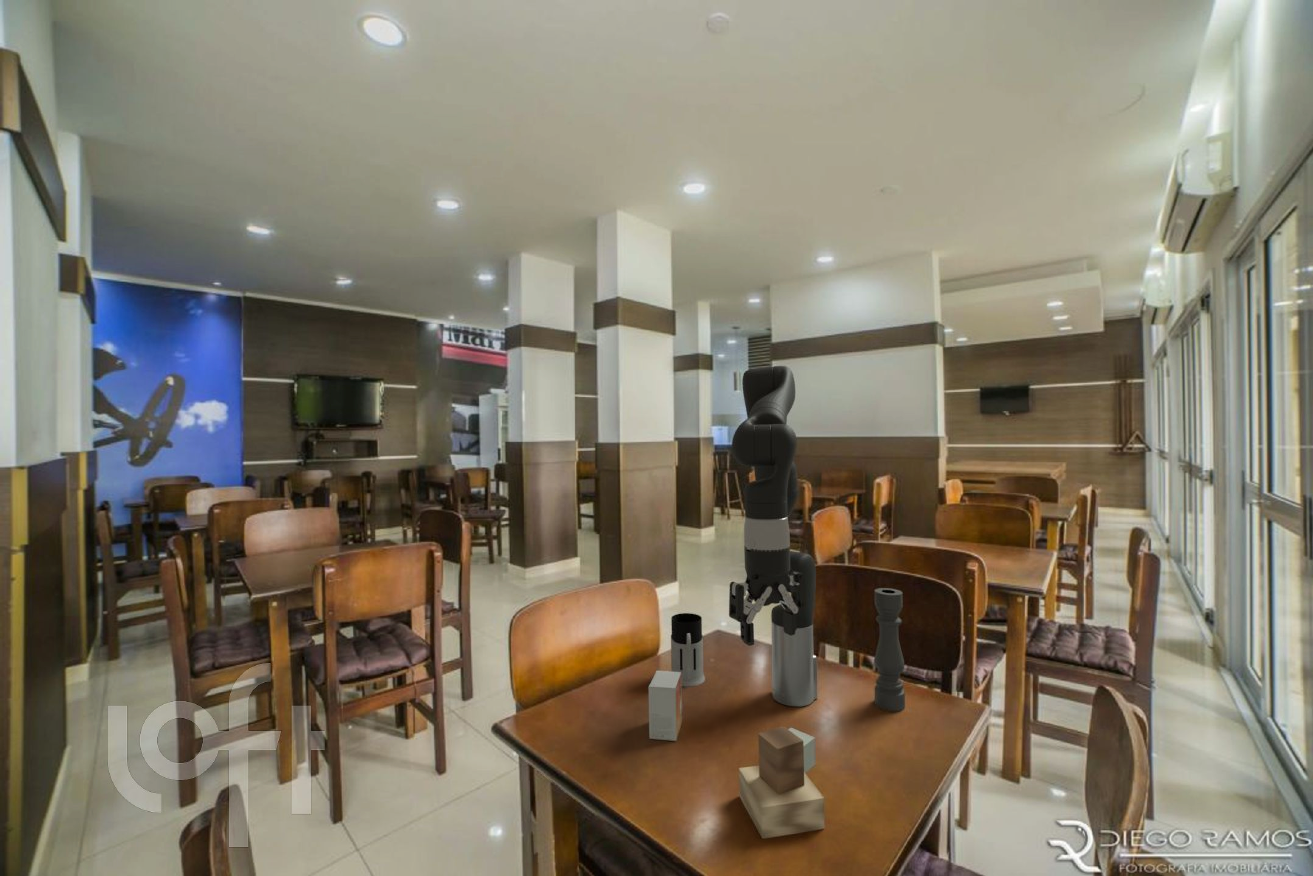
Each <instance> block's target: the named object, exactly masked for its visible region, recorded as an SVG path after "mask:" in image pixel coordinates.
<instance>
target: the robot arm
mask: <svg viewBox="0 0 1313 876" xmlns="http://www.w3.org/2000/svg"><path fill="white" fill-rule="evenodd" d="M741 381H742V394H743V400H744V406H745V412H746V417H747V418H746V419H745V420H743V422H741V423H740V424H739V425H738V427H737V428H736V430H735V432H734V434H733V436H732V442H731V452H732V455H733V458H734V460H735V461H737V463H738V464H740V465H741V466H745V467H751V468H752V467H753V469H754V470H753V471H754V480H753V481H750V482H748V483H746V485H745V487H744V497H743V498H744V526H743V544H744V547H743V548H744V551H743V552H744V553H743V554H744V571H745V573H746V578H745V582H735V581H731V582H730V583H729V601H728V604H729V605H728V616H729V618H731V619H733V620H734V621H736V622H738V623H739V624H740V626H739V628H740V640H741V641H742V642H743V643H744V644H745V645H746V646H749V647H750V646H754V645H755V634H754V633H755V630H754V629H755V628H754V625H755V624H754V623H753V621H754V620H755V617H756V615H757V614H758V613H760V612H761V610H762V608H763V607H767V606H770V605H771V604H774V605H775V604H776V605H775V606H773V607H772V609H771V614H770V616H771V617H770V618H771V619H770V620H771V621H770V622H771V685H772V686H771V694H772V698H773V699H774V700H775V701H776V702H778V703H779V704H780V705H781V704H782V705H786V706H789V707H805V706H809V705H810V704H812V703H813V702H814V701H815V700H817V699H818V658H817V655H816V654H814V614H815V609H816V608H815V607H816V606H815V605H816V584H817V583H816V581H817V569H816V562H815V560H814V558H813V557H812V555H811V554H808V553H806V552H800V551H792V550H791V549H790V548H791V541H790V540H791V537H790V525H789V518H790V516H791V514H792V513H793V510H794V509H795V507H796V504H797V501H798V499H799V493H800V492H799V482H798V474H797V473H798V472H797V467H796V464H795V462H794V460H795V459H794V458H795V455H796V452H797V447H798V440H797V434H796V432H795V431H794V429H793V428H792V427H791V426H790V425H788V424H787V421H788V420H787V419H788V415H789V413H790V412H791V410H792V408H793V406H794V403H795V400H796V384H795V378H794V374H793V371H792V369H791V368H790V367H788V366H785V365H776V366H768V367H760V368H759V367H758V368H753V369H748V370H745V371H744V373H743V375H742V380H741ZM746 592H747V593H746ZM753 601H754V603H753ZM777 604H778V605H777Z"/></svg>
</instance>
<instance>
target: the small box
mask: <svg viewBox="0 0 1313 876" xmlns="http://www.w3.org/2000/svg"><path fill="white" fill-rule="evenodd" d="M682 688H683V686H682V673H681V672H671V670H670V671H668V670H656V671H655V672H654V676H653V678H652V680H651V682H650V683H649V685H648V730H649V731H648V734H649V735H648V736H649V737H648V738H649V739H650V740H651V739H652V740H658V741H659V740H660V741H661V740H662V741H673V742H677V740H678V736H679V733H680V730H681V726H682V723H683V702H682V701H683V700H682V699H683V698H682V697H683V694H682V692H683V689H682Z"/></svg>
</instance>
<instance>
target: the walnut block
mask: <svg viewBox="0 0 1313 876" xmlns="http://www.w3.org/2000/svg"><path fill="white" fill-rule="evenodd" d="M788 729H789V728H787V727H785V725H783V726H779V727H776V728H773V729H769V730H766V731H762V732H759V733H758V734H757V735H758V766H759V777H760V778H761V779H762V780H763V781H765V782H766V783H767V784H768V785H769V786H770V787H771V788H772V789H773V790H774V791H775V792H776V793H777V794H781V793H784V792H787V791H790V790H792V789H795V788H798V787H801V786H803V785H804V747H803V740H802V739H800V738H799V737H798V736H796V735H795V734H794V733H792V732H791V731H789V730H788Z"/></svg>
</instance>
